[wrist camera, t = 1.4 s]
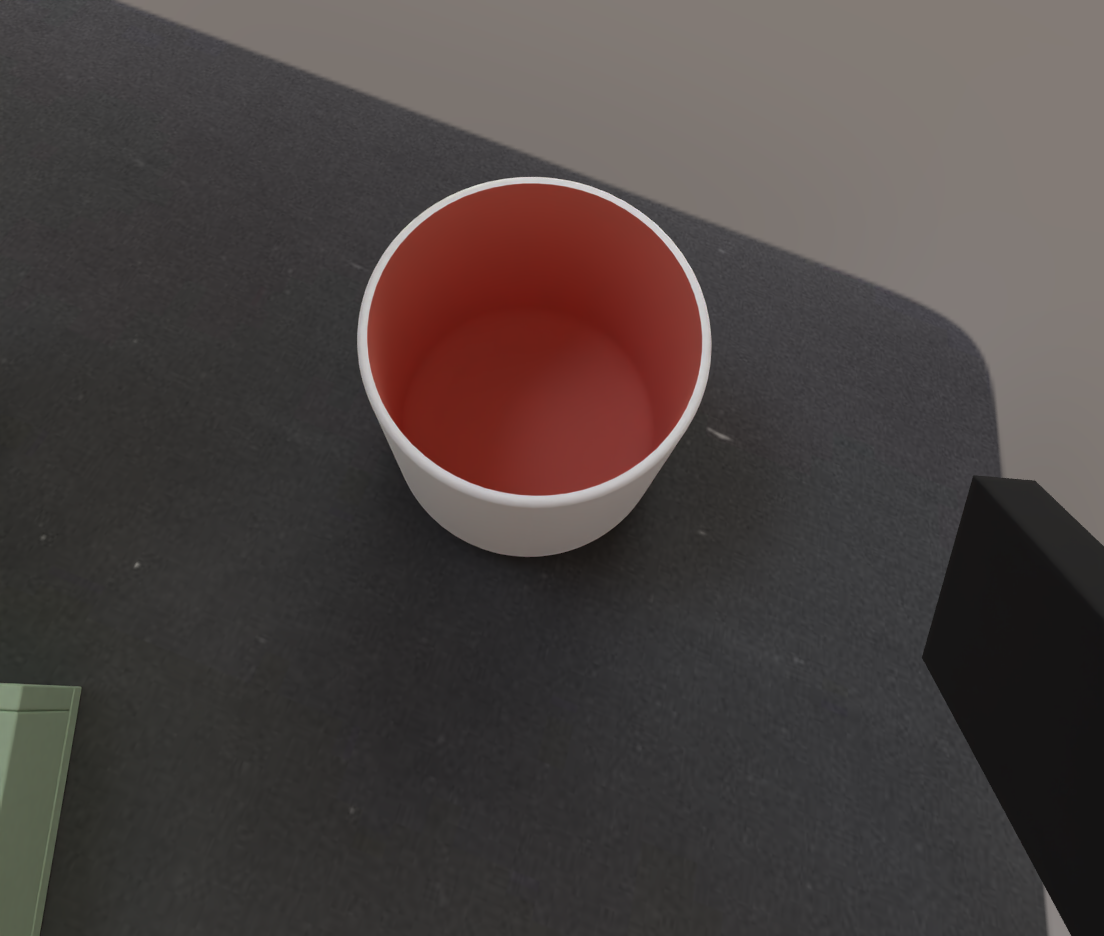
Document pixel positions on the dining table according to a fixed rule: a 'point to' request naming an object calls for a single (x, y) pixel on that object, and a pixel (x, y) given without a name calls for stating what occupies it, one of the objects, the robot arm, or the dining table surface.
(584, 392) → the cup
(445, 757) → the dining table surface
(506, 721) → the dining table surface
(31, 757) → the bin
